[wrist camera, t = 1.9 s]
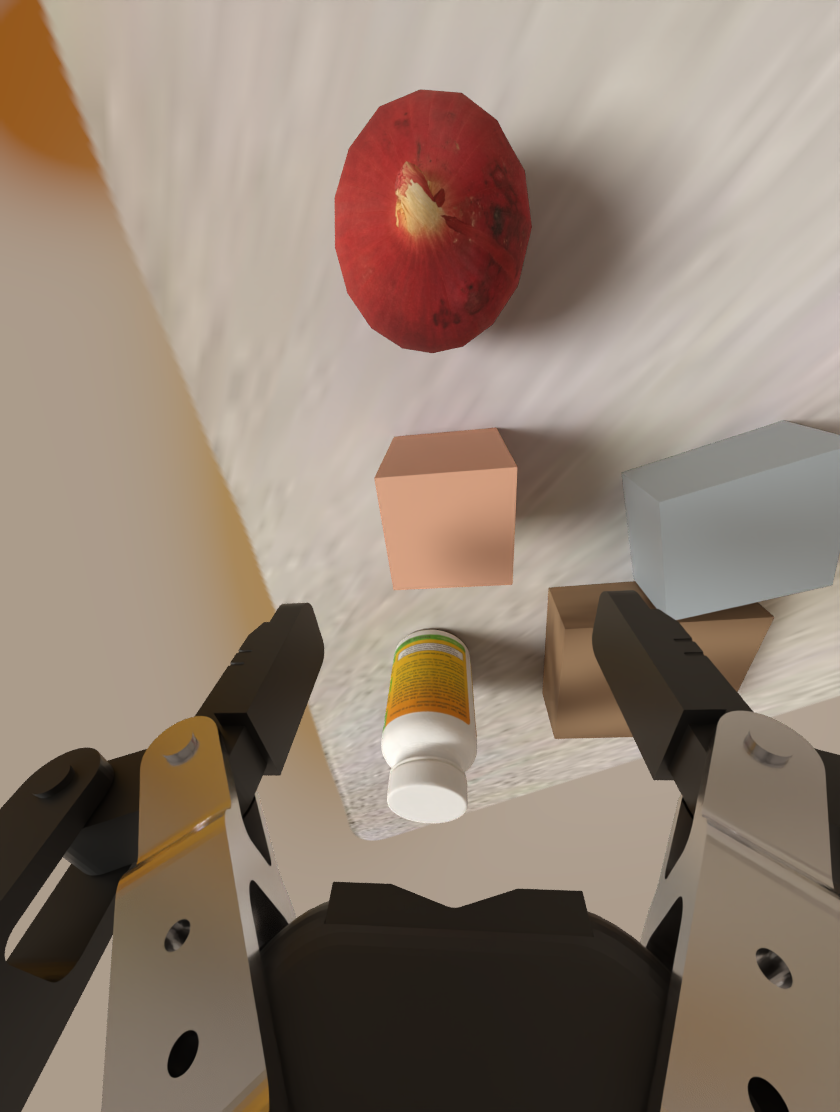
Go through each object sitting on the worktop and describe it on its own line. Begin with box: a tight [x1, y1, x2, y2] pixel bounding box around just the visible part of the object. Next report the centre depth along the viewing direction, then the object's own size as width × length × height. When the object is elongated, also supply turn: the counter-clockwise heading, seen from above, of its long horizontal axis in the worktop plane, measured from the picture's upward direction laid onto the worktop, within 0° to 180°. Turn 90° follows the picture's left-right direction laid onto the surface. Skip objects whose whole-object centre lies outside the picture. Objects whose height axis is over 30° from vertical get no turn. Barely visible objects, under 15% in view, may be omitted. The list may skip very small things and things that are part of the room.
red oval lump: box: [335, 90, 532, 353], centre depth 11 cm, size 6×6×8 cm
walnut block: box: [542, 581, 774, 739], centre depth 23 cm, size 10×10×4 cm
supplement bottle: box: [381, 630, 477, 823], centre depth 22 cm, size 5×5×10 cm
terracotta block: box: [374, 428, 517, 590], centre depth 16 cm, size 5×5×6 cm
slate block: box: [622, 420, 840, 620], centre depth 18 cm, size 7×7×4 cm
